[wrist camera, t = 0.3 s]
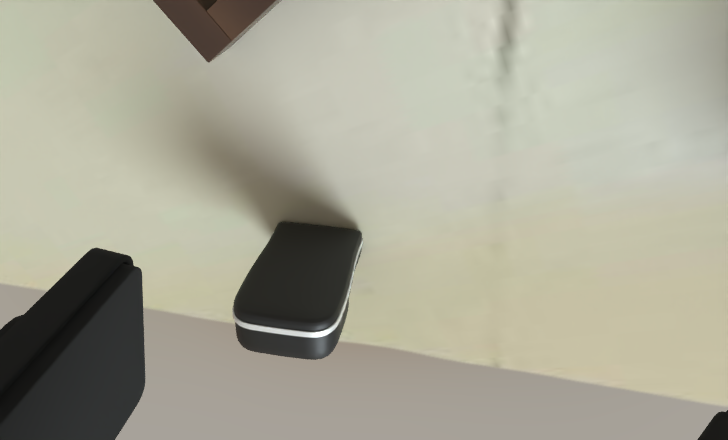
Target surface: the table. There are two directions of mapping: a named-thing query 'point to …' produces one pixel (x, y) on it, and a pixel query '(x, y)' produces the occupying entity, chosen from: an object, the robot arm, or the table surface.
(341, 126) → the table surface
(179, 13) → the rack
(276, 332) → the battery charger
